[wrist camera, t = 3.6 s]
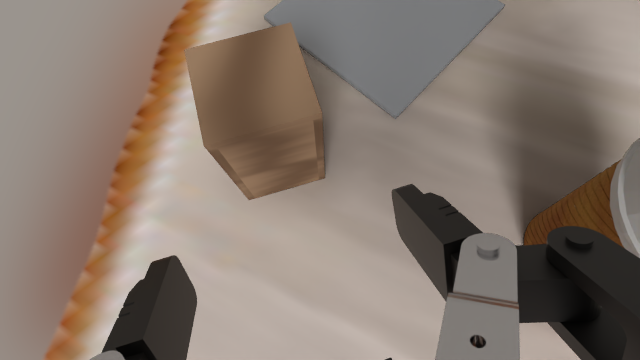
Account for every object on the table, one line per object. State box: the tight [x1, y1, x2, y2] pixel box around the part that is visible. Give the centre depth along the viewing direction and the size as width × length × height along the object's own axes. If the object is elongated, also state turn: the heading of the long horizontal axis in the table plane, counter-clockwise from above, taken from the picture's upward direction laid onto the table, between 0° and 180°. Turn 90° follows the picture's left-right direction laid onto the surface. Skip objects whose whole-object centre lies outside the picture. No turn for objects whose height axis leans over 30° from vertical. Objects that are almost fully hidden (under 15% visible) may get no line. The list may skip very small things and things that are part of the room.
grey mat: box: [264, 0, 505, 119], centre depth 32 cm, size 16×16×1 cm
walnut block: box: [184, 22, 325, 200], centre depth 23 cm, size 6×6×10 cm
